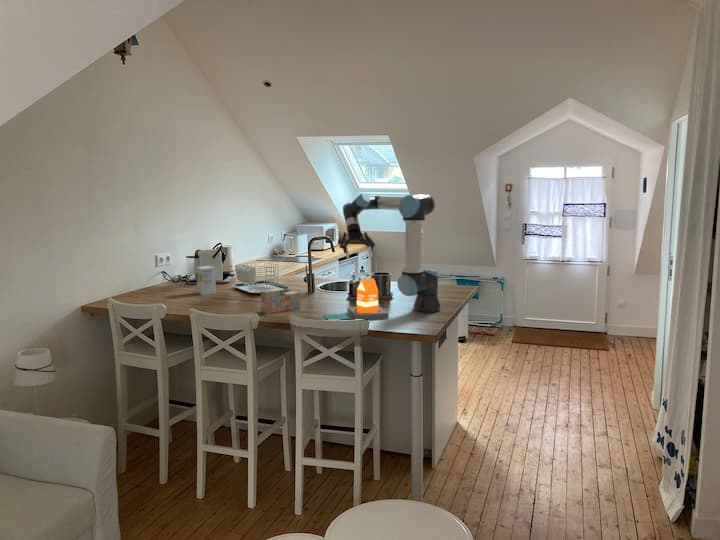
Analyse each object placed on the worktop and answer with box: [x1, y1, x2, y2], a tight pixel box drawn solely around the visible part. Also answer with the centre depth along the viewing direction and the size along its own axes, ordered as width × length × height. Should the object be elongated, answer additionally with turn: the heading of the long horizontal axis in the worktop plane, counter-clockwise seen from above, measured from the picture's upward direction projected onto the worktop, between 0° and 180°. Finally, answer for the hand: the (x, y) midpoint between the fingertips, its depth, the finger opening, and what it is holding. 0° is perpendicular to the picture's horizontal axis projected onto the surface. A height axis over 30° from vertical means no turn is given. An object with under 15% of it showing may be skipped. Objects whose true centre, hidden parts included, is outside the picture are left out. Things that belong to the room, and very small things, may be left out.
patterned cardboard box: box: [260, 287, 301, 315], centre depth 334 cm, size 21×6×12 cm, turn 127°
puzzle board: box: [346, 305, 389, 321], centre depth 321 cm, size 18×18×3 cm
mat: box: [323, 312, 351, 320], centre depth 317 cm, size 12×12×1 cm
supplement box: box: [195, 265, 217, 296], centre depth 380 cm, size 10×9×17 cm
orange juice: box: [356, 278, 379, 313], centre depth 320 cm, size 8×9×20 cm
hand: (359, 257), depth 331 cm, fingers open, 13 cm apart
